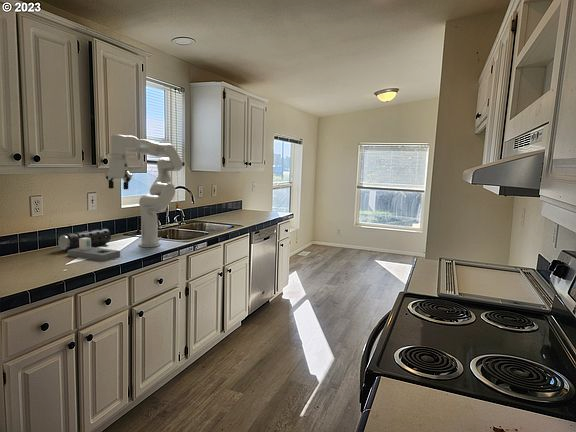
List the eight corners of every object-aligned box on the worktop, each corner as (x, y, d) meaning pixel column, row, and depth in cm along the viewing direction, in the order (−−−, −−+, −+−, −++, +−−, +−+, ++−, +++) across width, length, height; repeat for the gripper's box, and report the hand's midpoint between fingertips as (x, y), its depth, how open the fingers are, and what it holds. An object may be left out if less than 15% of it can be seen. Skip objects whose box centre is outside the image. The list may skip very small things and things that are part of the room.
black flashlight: (111, 245, 237) (111, 228, 236) (68, 253, 212) (68, 235, 211) (100, 243, 241) (100, 227, 240) (57, 251, 216) (56, 233, 215)
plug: (85, 253, 211) (85, 237, 210) (92, 254, 210) (91, 238, 209) (79, 255, 207) (79, 238, 206) (86, 256, 206) (85, 239, 205)
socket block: (86, 252, 216) (86, 245, 216) (120, 257, 208) (120, 250, 208) (67, 256, 205) (67, 249, 205) (102, 261, 197) (102, 254, 197)
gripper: (136, 158, 213) (136, 189, 214) (110, 157, 217) (110, 187, 219) (127, 157, 205) (127, 189, 207) (100, 156, 210) (100, 188, 212)
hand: (118, 188), depth 213 cm, fingers open, 9 cm apart
